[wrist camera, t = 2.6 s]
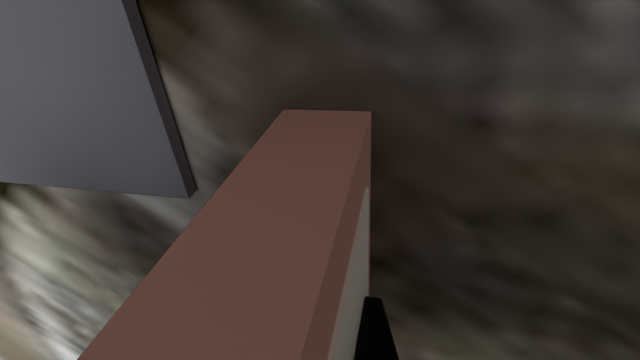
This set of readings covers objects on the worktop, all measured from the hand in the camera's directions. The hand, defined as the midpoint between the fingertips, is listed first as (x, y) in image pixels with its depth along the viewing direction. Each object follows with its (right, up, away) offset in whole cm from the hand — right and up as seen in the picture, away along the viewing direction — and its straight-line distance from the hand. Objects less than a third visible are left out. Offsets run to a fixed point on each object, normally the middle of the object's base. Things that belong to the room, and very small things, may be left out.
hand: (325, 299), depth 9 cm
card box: (0, +1, +1) cm, 2 cm away
